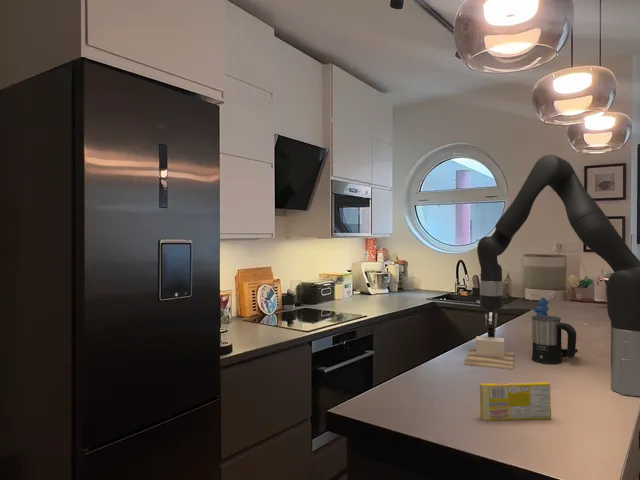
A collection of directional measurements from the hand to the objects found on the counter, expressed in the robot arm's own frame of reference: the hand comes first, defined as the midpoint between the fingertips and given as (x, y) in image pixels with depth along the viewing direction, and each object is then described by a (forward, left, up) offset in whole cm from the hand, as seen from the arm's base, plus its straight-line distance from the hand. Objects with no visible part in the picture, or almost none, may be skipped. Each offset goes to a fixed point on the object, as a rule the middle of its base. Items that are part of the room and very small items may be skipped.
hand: (491, 343), depth 163 cm
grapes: (+78, -19, -5) cm, 80 cm away
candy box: (-55, -8, -5) cm, 56 cm away
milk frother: (+5, -20, -5) cm, 21 cm away
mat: (-3, 0, -5) cm, 6 cm away
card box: (-1, 0, -4) cm, 4 cm away
